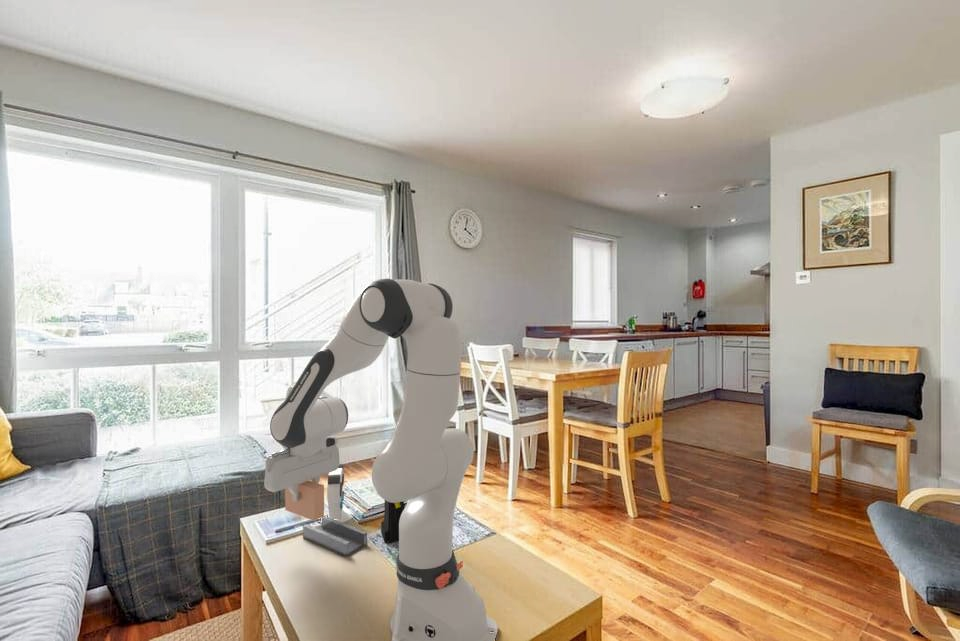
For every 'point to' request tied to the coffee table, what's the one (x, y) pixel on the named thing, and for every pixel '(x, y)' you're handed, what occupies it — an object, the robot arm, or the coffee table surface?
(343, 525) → the bracket
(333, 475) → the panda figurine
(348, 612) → the coffee table surface
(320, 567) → the coffee table surface
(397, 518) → the portable radio
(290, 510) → the salmon orange rectangular block
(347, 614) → the coffee table surface
